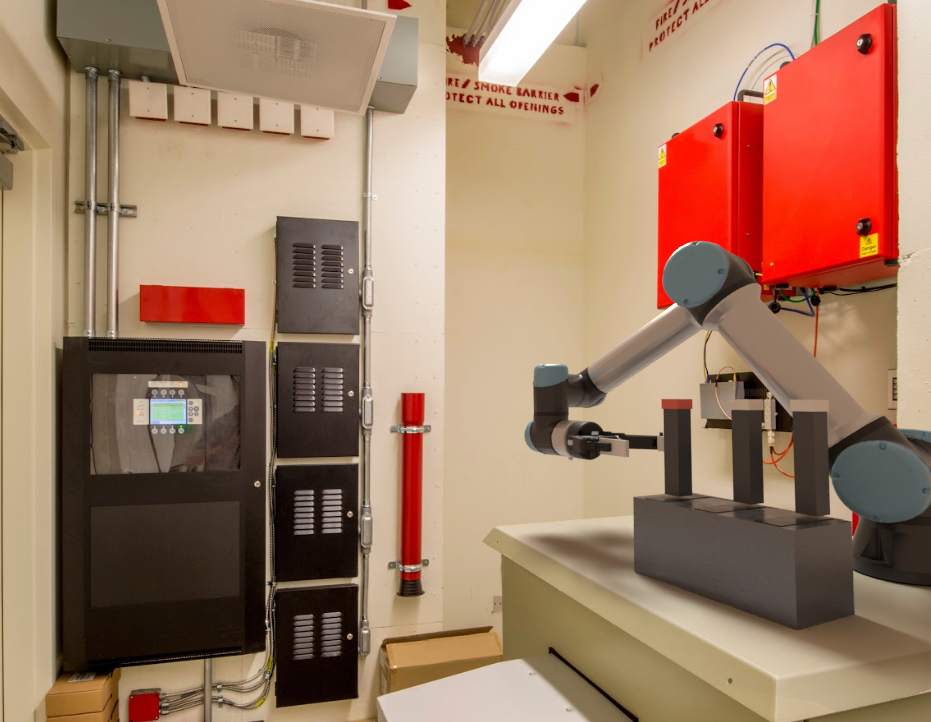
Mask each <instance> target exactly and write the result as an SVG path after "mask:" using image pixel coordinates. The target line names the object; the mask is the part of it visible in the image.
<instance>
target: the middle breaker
mask: <svg viewBox="0 0 931 722" xmlns="http://www.w3.org/2000/svg"><path fill="white" fill-rule="evenodd" d="M728 402H729V403H728V407H729V408H728V410H730V413H731V414H730V415H731V417H730V418H731V452H732V453H731V456H732V457H731V459H732V491H733V493H732V497H733V499H732V500H733V502H738V503H744V504H749V505H753V504H760V505H762V504H765V493H764V491H765V489H764V487H765V486H764V455H763V453H764V452H763V451H764V450H763V447H764V446H763V415H762V414H763V413H762V411H764V410H765V409H764V399H763V398H761V399H758V398H757V399H754V398H753V399H752V398H751V399H749V398H745V399H744V398H742V399H741V398H739V399H737V398H736V399H734V398H733V399H732V398H731V399H730V398H729V399H728Z"/></svg>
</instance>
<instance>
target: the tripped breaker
mask: <svg viewBox="0 0 931 722" xmlns="http://www.w3.org/2000/svg"><path fill="white" fill-rule="evenodd" d="M660 401H661V409H663V410H662V411H663V413H662V414H663V435H664V452H663V460H664V461H663V462H664V463H663V467H664V468H663V469H664V470H663V471H664V494H667V495H672V496H678V497H682V496H692V493H693V464H692V463H693V462H692V459H693V458H692V454H693V453H692V416H691V415H692V411H691V410H693V398H661V400H660Z"/></svg>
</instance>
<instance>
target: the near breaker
mask: <svg viewBox="0 0 931 722" xmlns="http://www.w3.org/2000/svg"><path fill="white" fill-rule="evenodd" d="M790 411H792V414H793V418H792V436H793V437H792V442H793V444H792V446H793V477H794V480H793V481H794V506H795V507H794V511H795V513H799V514H805V515H810V516H816V517H818V516H830V515H831V497H830V476H829V461H828V431H827V411H829V400H790Z"/></svg>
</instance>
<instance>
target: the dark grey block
mask: <svg viewBox="0 0 931 722" xmlns="http://www.w3.org/2000/svg"><path fill="white" fill-rule="evenodd" d="M632 498H633V499H632V500H633V563H634V564H633V566H634V567H633V569H634V570H633V571H634V572H636V573H638V574H641V575H644V576H647V577H648V578H649V577H650V578H653V579H654V580H658V581H660V582H663V583H666V584H668V585H671V586H674V587H677V588H679V589H682V590H686V591H688V592H691V593H694V594H697V595H700V596H702V597H705V598H708V599H710V600H713V601H715V602H719V603H721V604H724V605H726V604H727V606H729V605H730V606H729V607H732V608H734V609H735V608H736V609H739V610H740V609H741V611H743V610H744V611H743V612H746V613H749V614H751V613H752V615H755V616H757V617H761V618H763V619H765V620H768V621H770V622H774V623H777V624H780V625H782V626H784V627H788V628H790V629H793V630H796V631H798V630H802V629H805V628H810V627H813V626H816V625H820V624H823V623H827V622H830V621H835V620H837V619H841V618H842V619H843V618H845V617H849V616H852V615H855V612H856V611H855V585H854V581H855V580H854V569H853V551H852V539H853V532H852V531H853V525H852V521H851V520H845V519H844V518H840V517H839V518H838V517H832V516H828V515H825V516H818V517H816V516H810V515H805V514H799V513H795V509H794V510H793V509H788V508H781V507H775V506H772V505H771V506H770V505H764V504H753V505H749V504H744V503H738V502H733V499H730V498H725V497H720V496H714V495H708V494H702V493H696V492H692V496H682V497H678V496H672V495H667V494H665V493H662V494H661V493H659V494H649V495H640V496H633V497H632Z"/></svg>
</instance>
